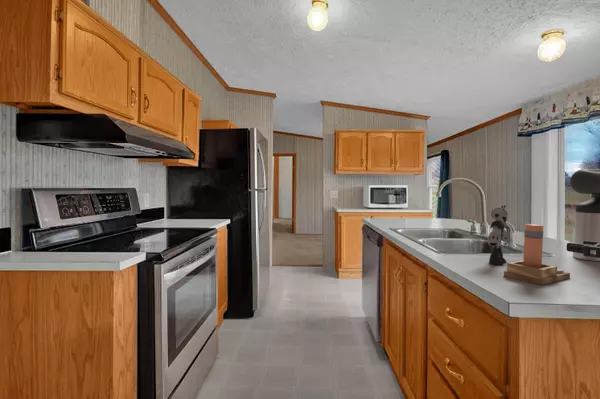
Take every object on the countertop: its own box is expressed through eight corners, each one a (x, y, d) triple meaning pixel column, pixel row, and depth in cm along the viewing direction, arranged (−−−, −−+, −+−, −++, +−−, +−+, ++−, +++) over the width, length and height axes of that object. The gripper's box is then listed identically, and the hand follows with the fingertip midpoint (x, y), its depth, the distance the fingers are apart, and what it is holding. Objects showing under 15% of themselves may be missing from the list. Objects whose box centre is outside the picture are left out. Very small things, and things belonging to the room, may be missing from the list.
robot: (496, 257, 128) (498, 203, 127) (511, 259, 125) (513, 204, 124) (481, 266, 113) (484, 206, 112) (498, 269, 110) (501, 206, 109)
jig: (533, 270, 110) (533, 257, 110) (569, 277, 101) (570, 264, 101) (503, 276, 102) (504, 262, 102) (540, 285, 94) (541, 270, 93)
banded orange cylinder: (527, 270, 103) (530, 223, 102) (544, 274, 99) (546, 225, 99) (519, 272, 101) (521, 224, 100) (536, 276, 97) (538, 226, 96)
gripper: (674, 238, 79) (589, 230, 94) (650, 242, 73) (562, 232, 87) (672, 271, 80) (587, 257, 94) (648, 277, 73) (560, 262, 87)
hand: (575, 245), depth 90 cm, fingers open, 8 cm apart
